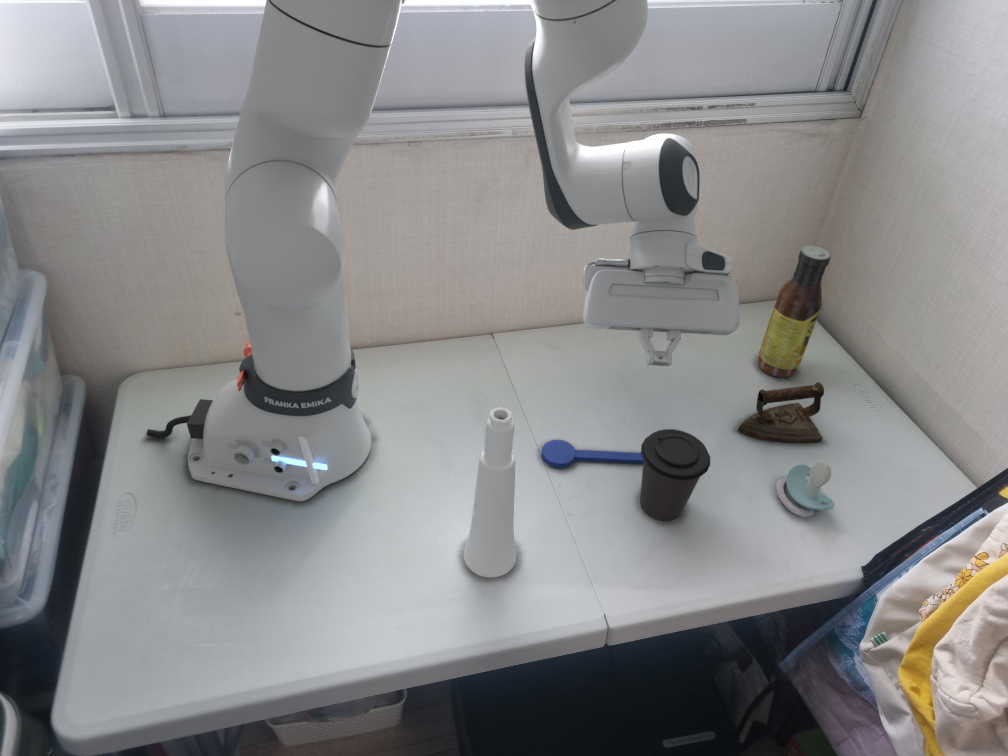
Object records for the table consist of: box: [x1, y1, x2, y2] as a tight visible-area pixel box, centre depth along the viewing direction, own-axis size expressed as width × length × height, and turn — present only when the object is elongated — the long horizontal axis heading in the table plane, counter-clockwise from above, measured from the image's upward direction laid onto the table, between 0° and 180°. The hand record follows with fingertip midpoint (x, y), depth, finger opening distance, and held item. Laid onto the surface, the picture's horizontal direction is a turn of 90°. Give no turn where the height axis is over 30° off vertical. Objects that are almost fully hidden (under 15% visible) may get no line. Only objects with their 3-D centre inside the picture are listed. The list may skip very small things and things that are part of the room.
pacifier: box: [775, 460, 836, 518], centre depth 95 cm, size 7×6×6 cm
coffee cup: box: [639, 428, 711, 522], centre depth 92 cm, size 8×8×10 cm
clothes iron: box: [736, 381, 825, 444], centre depth 104 cm, size 7×11×10 cm, turn 101°
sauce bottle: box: [757, 245, 832, 378], centre depth 111 cm, size 6×6×20 cm
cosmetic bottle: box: [463, 406, 518, 579], centre depth 80 cm, size 6×6×22 cm
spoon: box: [541, 439, 644, 469], centre depth 100 cm, size 16×4×1 cm, turn 90°
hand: (658, 365), depth 100 cm, fingers closed
